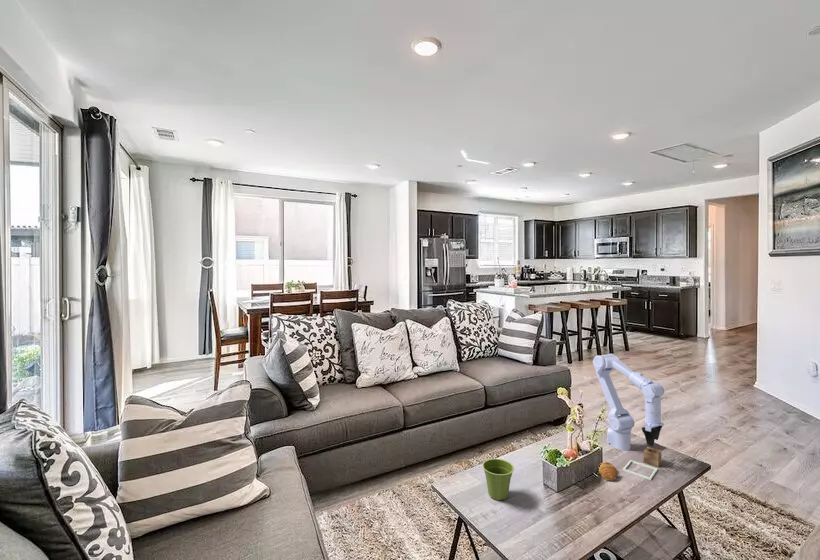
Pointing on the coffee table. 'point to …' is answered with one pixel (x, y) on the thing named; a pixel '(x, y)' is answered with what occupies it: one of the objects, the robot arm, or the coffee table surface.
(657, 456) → the brown framed cube
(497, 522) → the coffee table surface
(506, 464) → the plant pot
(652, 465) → the grey base with peg
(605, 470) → the pastry
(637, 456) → the coffee table surface
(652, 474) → the tray
